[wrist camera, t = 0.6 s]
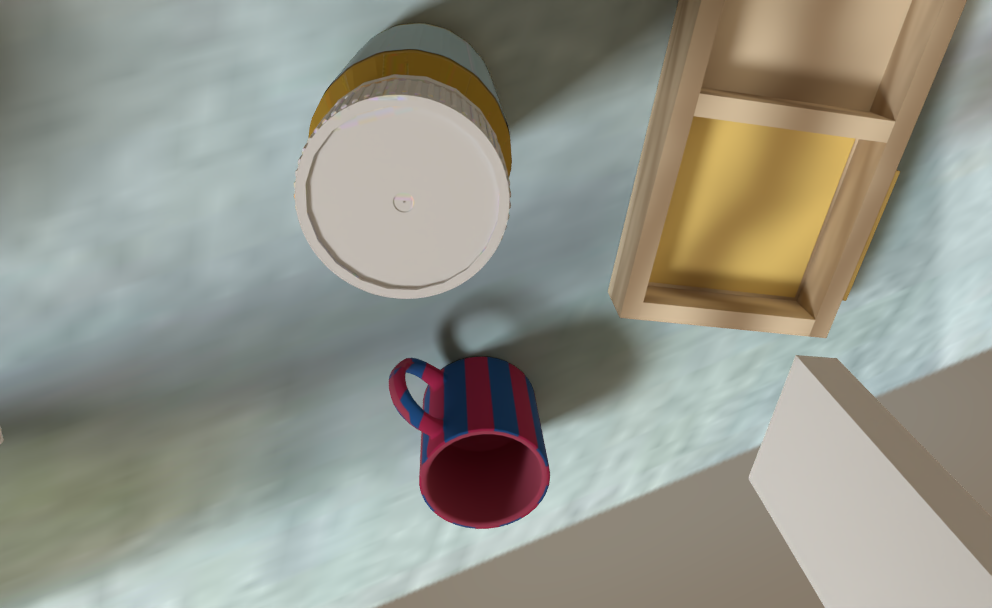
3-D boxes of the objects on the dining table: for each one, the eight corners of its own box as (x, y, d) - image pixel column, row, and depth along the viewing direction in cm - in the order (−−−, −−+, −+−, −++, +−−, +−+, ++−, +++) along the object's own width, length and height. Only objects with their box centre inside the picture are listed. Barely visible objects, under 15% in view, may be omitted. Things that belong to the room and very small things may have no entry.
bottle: (520, 73, 33) (573, 160, 19) (448, 196, 35) (449, 347, 22) (389, -11, 31) (344, 22, 17) (321, 126, 33) (238, 246, 20)
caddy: (607, 291, 38) (619, 317, 36) (723, -184, 28) (751, -197, 26) (805, 312, 40) (831, 338, 37) (980, -133, 30) (1033, -141, 27)
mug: (467, 464, 43) (471, 548, 37) (363, 356, 39) (348, 431, 33) (555, 410, 42) (574, 489, 36) (457, 293, 38) (459, 359, 32)
